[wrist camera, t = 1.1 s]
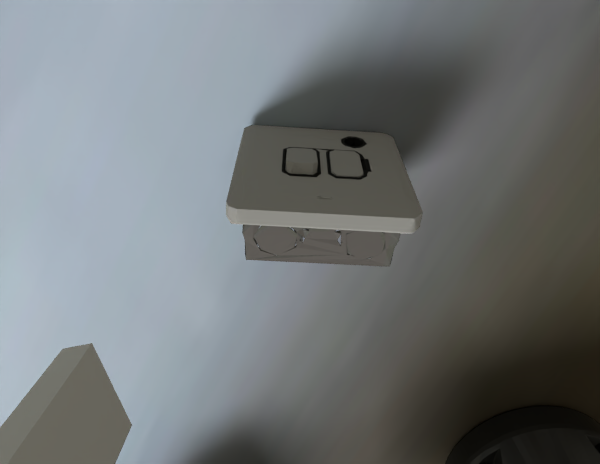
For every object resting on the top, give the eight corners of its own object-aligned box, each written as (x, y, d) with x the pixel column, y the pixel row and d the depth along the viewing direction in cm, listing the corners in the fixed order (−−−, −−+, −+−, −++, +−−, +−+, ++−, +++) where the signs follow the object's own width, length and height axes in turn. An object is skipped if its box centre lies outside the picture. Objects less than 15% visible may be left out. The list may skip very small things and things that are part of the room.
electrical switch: (391, 131, 27) (434, 183, 19) (379, 206, 29) (412, 281, 21) (244, 122, 26) (221, 171, 18) (244, 198, 29) (223, 272, 21)
